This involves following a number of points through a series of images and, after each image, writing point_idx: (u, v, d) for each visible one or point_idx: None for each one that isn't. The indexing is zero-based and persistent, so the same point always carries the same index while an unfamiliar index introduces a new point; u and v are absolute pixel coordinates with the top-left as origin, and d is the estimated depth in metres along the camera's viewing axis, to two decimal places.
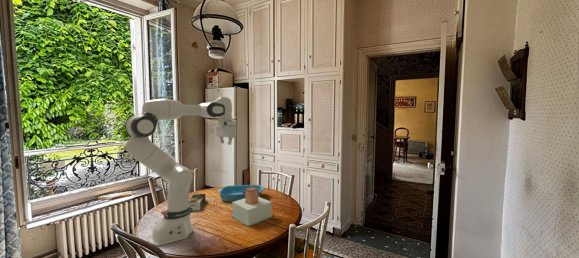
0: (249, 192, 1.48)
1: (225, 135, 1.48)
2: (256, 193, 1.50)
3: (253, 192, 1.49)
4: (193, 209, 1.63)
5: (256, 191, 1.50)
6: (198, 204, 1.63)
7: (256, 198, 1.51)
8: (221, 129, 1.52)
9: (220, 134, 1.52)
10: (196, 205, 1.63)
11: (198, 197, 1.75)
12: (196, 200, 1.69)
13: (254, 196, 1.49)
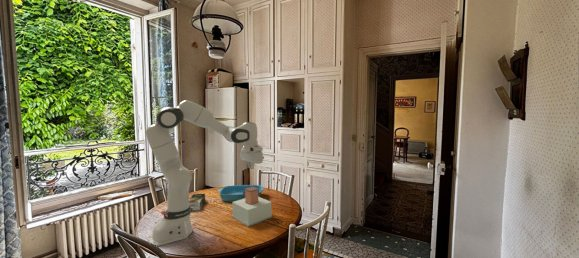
0: (249, 192, 1.48)
1: (251, 160, 1.47)
2: (256, 193, 1.50)
3: (253, 192, 1.49)
4: (193, 209, 1.63)
5: (256, 191, 1.50)
6: (198, 204, 1.64)
7: (256, 198, 1.51)
8: (246, 154, 1.51)
9: (245, 158, 1.51)
10: (196, 205, 1.64)
11: (198, 197, 1.75)
12: (196, 200, 1.70)
13: (254, 196, 1.49)
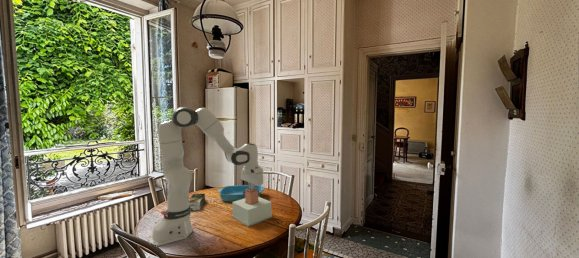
0: (249, 192, 1.48)
1: (251, 181, 1.48)
2: (256, 193, 1.50)
3: (253, 192, 1.49)
4: (193, 209, 1.64)
5: (256, 191, 1.50)
6: (198, 204, 1.64)
7: (256, 198, 1.51)
8: (247, 174, 1.51)
9: (246, 179, 1.52)
10: (196, 205, 1.64)
11: (198, 197, 1.75)
12: (196, 200, 1.70)
13: (254, 196, 1.49)
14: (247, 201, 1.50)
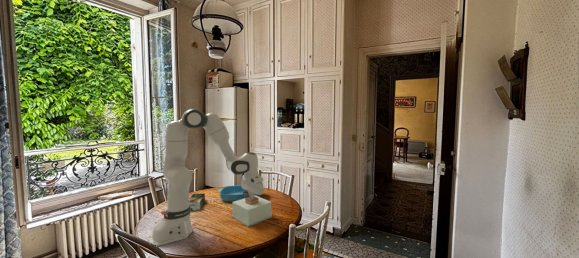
0: (249, 202, 1.48)
1: (252, 191, 1.48)
2: (256, 202, 1.51)
3: (253, 202, 1.49)
4: (193, 209, 1.64)
5: (256, 200, 1.51)
6: (198, 204, 1.64)
7: None
8: (247, 183, 1.52)
9: (246, 188, 1.53)
10: (196, 205, 1.64)
11: (198, 197, 1.76)
12: (196, 200, 1.70)
13: None
14: None
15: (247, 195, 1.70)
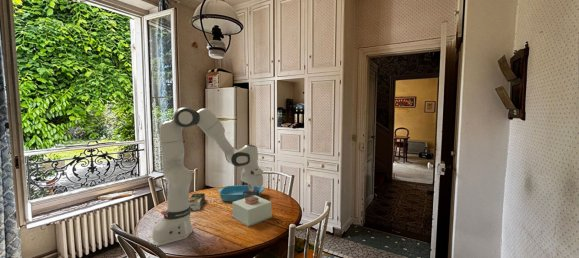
0: (249, 202, 1.48)
1: (251, 183, 1.48)
2: (256, 202, 1.51)
3: (253, 202, 1.49)
4: (193, 208, 1.64)
5: (256, 200, 1.51)
6: (198, 204, 1.65)
7: None
8: (247, 176, 1.51)
9: (245, 181, 1.52)
10: (196, 204, 1.65)
11: (198, 197, 1.76)
12: (196, 200, 1.71)
13: None
14: None
15: (247, 195, 1.70)
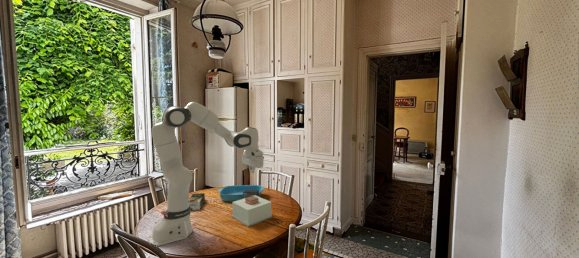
0: (249, 202, 1.48)
1: (252, 164, 1.51)
2: (256, 202, 1.51)
3: (253, 202, 1.49)
4: (193, 208, 1.64)
5: (256, 200, 1.51)
6: (198, 203, 1.65)
7: None
8: (247, 158, 1.55)
9: (246, 163, 1.55)
10: (196, 204, 1.65)
11: (197, 196, 1.76)
12: (196, 199, 1.71)
13: None
14: None
15: (247, 195, 1.70)
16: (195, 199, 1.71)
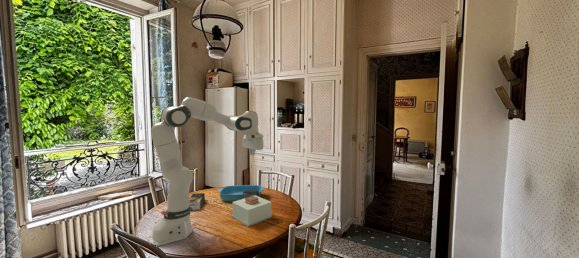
0: (249, 202, 1.48)
1: (252, 147, 1.55)
2: (256, 202, 1.51)
3: (253, 202, 1.49)
4: (193, 208, 1.65)
5: (256, 200, 1.51)
6: (198, 203, 1.65)
7: None
8: (248, 141, 1.59)
9: (247, 146, 1.60)
10: (196, 204, 1.65)
11: (197, 196, 1.76)
12: (196, 199, 1.71)
13: None
14: None
15: (247, 195, 1.70)
16: (195, 199, 1.72)
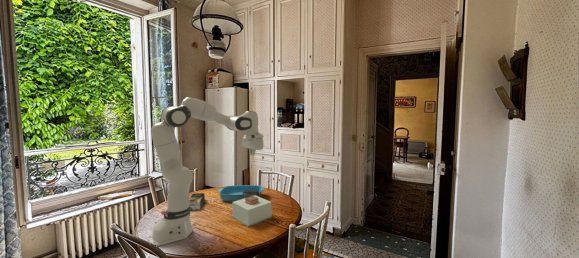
0: (249, 202, 1.48)
1: (252, 147, 1.55)
2: (256, 202, 1.51)
3: (253, 202, 1.49)
4: (193, 208, 1.65)
5: (256, 200, 1.51)
6: (198, 203, 1.65)
7: None
8: (248, 141, 1.59)
9: (247, 146, 1.60)
10: (196, 204, 1.65)
11: (197, 196, 1.76)
12: (196, 199, 1.71)
13: None
14: None
15: (247, 195, 1.70)
16: (195, 199, 1.72)
